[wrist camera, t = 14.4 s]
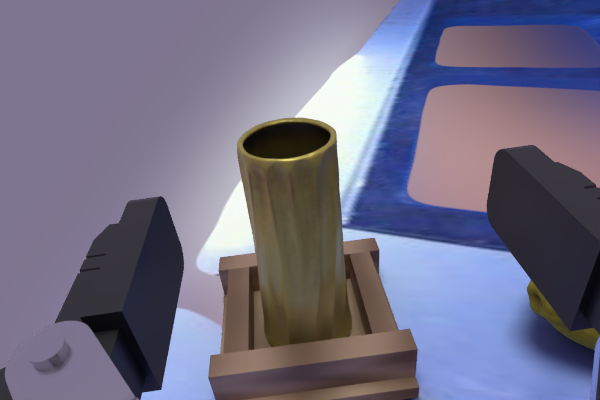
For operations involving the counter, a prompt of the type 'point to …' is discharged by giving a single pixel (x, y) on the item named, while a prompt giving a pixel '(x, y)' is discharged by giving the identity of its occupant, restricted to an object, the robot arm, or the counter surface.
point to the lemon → (546, 311)
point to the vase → (296, 229)
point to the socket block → (313, 355)
